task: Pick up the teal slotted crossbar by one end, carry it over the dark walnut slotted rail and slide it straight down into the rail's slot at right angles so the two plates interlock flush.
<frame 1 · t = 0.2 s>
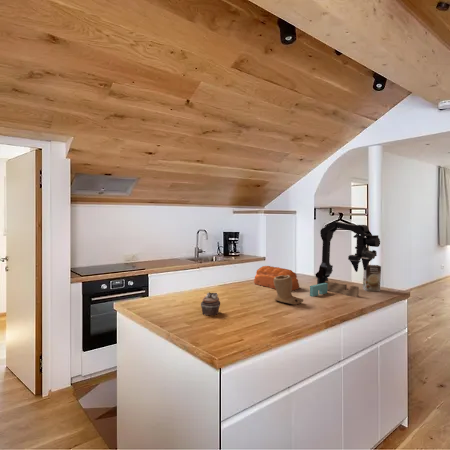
hand: (360, 270, 212), 14 cm above the counter, tool pointing down, fingers open, 9 cm apart
brown hollow boot-shaped piece: (286, 302, 192), on the counter
crossbar: (318, 294, 211), on the counter
rail: (340, 293, 214), on the counter
bread: (276, 286, 234), on the counter
cupcake: (210, 313, 172), on the counter
coffee box: (371, 290, 224), on the counter
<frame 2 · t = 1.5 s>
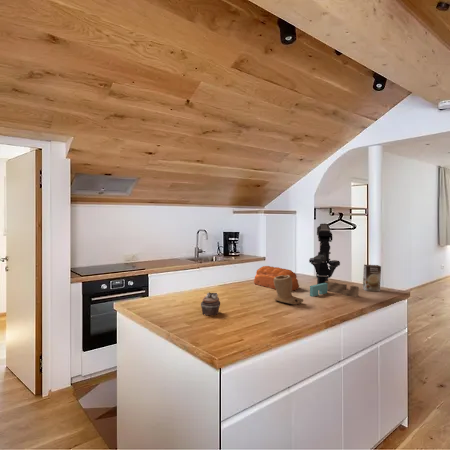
hand: (323, 275, 214), 11 cm above the counter, tool pointing down, fingers open, 9 cm apart
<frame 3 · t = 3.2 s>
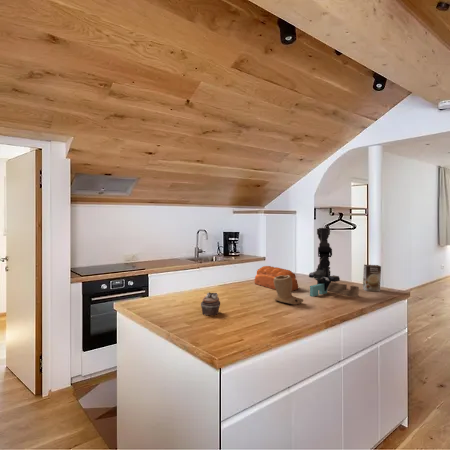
hand: (323, 290, 215), 2 cm above the counter, tool pointing down, fingers closed on crossbar, 2 cm apart
crossbar: (318, 294, 211), on the counter, touching gripper
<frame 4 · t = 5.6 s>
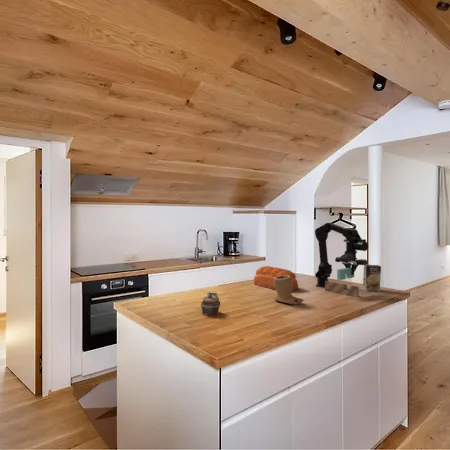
hand: (350, 274, 213), 12 cm above the counter, tool pointing down, fingers closed on crossbar
crossbar: (345, 278, 210), point 10 cm above the counter, touching gripper
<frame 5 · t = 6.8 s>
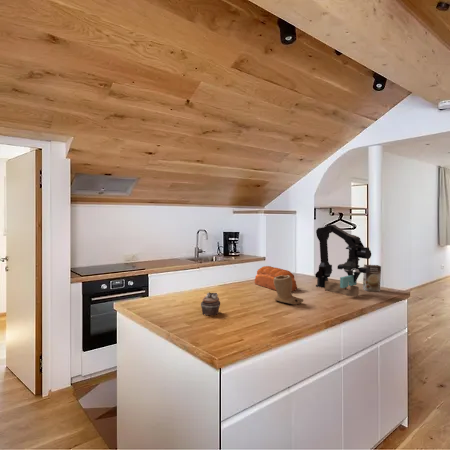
hand: (352, 282, 213), 7 cm above the counter, tool pointing down, fingers closed on crossbar
crossbar: (348, 286, 210), point 6 cm above the counter, touching gripper
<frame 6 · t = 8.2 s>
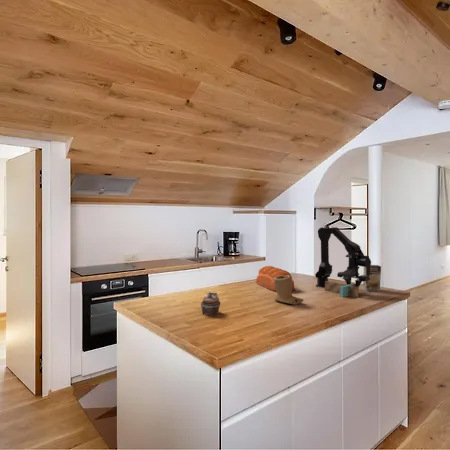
hand: (352, 290, 214), 2 cm above the counter, tool pointing down, fingers open, 4 cm apart
crossbar: (348, 295, 210), on the counter, touching rail
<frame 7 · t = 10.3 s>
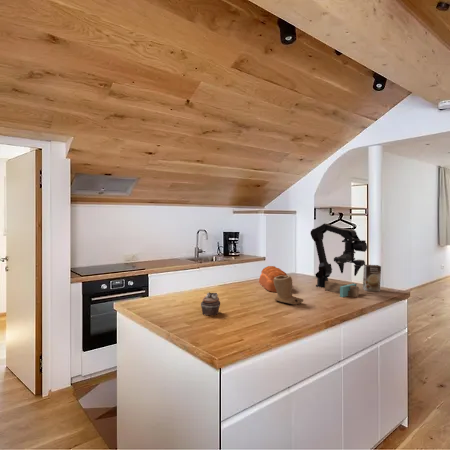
hand: (348, 274, 218), 11 cm above the counter, tool pointing down, fingers open, 9 cm apart
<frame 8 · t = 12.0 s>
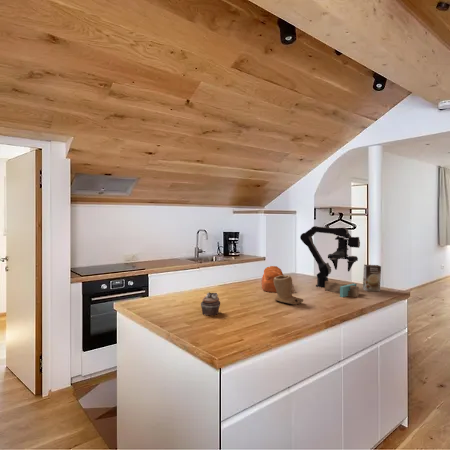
hand: (342, 270, 227), 12 cm above the counter, tool pointing down, fingers open, 9 cm apart
at the end: crossbar 0.1 cm from the target spot on the rail, point 0.0 cm above the rail's base; crossbar tilted 0°; the gripper is holding nothing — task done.
